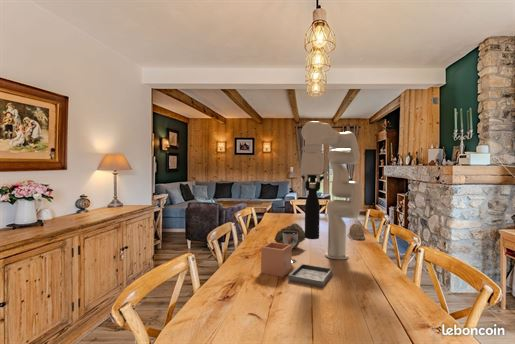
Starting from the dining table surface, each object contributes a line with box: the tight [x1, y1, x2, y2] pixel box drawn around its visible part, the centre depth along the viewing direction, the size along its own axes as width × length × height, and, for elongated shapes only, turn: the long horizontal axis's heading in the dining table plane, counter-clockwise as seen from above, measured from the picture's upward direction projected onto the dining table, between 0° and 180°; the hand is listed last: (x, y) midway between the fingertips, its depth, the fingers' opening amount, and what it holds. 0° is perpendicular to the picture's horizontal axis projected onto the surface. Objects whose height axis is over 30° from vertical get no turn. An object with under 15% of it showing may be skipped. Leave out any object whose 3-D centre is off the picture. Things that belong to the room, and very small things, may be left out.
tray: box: [287, 263, 333, 288], centre depth 137 cm, size 18×15×2 cm
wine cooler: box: [260, 241, 293, 278], centre depth 144 cm, size 11×11×12 cm
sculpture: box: [346, 222, 366, 240], centre depth 219 cm, size 12×17×10 cm
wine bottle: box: [304, 175, 321, 240], centre depth 136 cm, size 6×6×30 cm
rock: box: [273, 222, 306, 249], centre depth 184 cm, size 18×14×15 cm
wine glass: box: [283, 231, 298, 264], centre depth 160 cm, size 8×8×15 cm
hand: (312, 190), depth 136 cm, fingers closed on wine bottle, 3 cm apart
